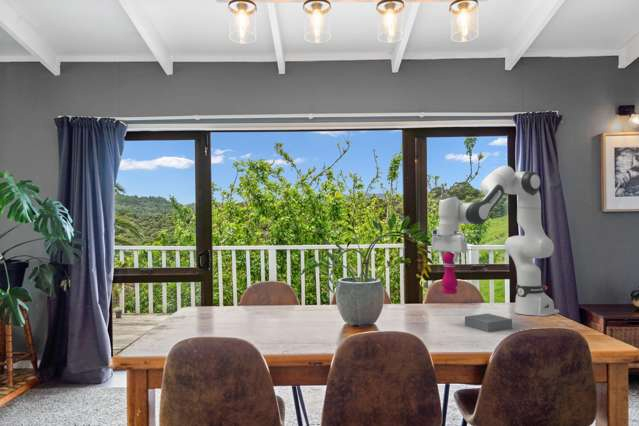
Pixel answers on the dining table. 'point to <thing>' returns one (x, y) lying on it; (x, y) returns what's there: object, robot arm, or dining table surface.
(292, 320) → the dining table surface
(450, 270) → the pepper mill
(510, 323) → the riser
